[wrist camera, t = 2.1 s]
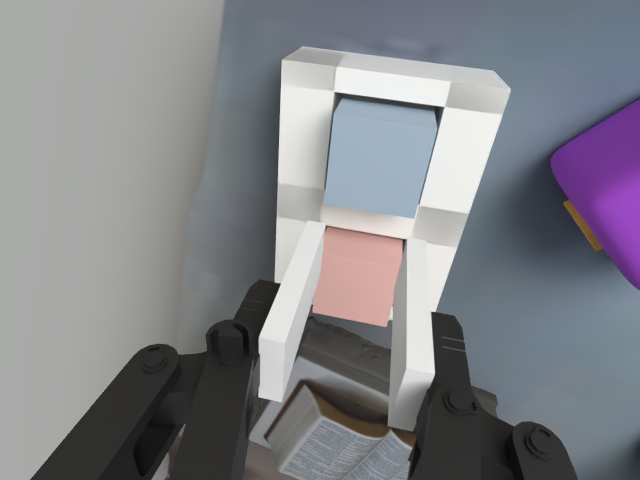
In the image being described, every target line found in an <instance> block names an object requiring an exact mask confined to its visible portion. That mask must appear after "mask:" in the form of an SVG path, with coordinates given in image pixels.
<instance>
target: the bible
mask: <svg viewBox="0 0 640 480" xmlns="http://www.w3.org/2000/svg"><path fill="white" fill-rule="evenodd" d="M390 368H391V350H390V349H386V348H383V347H380V346H378V345H374V344H373V343H371V342H370V341H367V340H364V339H363V338H362V337H360V336H358V335H356V334H354V333H351V332H349V331H347V330H345V329H343V328H341V327H336V326H334V325H332V324H328V323H327V324H325V323H321V322H318V321H317V320H316V319H315V318H314V317H312V318H309V319H308V320H307V321H306V323H305V327H304V330H303V333H302V337H301V340H300V343H299V347H298V350H297V353H296V357H295V360H294V363H293V367H292V370H291V373H290V377H289V380H288V383H287V387H286V390H285V393H284V397H283V400H282V402H278V401H273V400H269V399H264V398H262V400H261V403H260V409H259V412H258V414H257V416H256V419H255V421H254V423H253V426H252V428H251V430H250V436H249V440H250V441H252V442H254V443H257V444H260V445H262V446H264V447H267V448H269V449H271V450H272V451H273V455H274V458H275V463H276V467H277V469H278V471H279V472H281V473H283V474H286V475H289V476H292V477H295V478H297V479H299V480H407V477H408V472H409V466H410V461H407V460H408V458H409V455H410V453H411V450H412V448H413V445H414V443H415V440H416V438H417V434H416V424H415V427H414V430H413V432H412V431H408V430H403V429H399V428H394V427H390V426H388V410H389V389H390ZM471 389H472V392H473V395H475V396H476V398H477V399H478V401H479V403H480V404H481V407H482V408H483V409H485V410H486V411H487V412H488V413H490V414H491V415H493V416H494V417H496V418H498V417H497V414H496V410H495V409H496V406H497V404H498V402H497V398H496V395H494V394H492V393H489V392H487V391H485V390H482V389H479V388H476V387H474V386H471Z"/></svg>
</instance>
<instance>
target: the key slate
mask: <svg viewBox="0 0 640 480" xmlns="http://www.w3.org/2000/svg"><path fill="white" fill-rule="evenodd" d="M437 129H438V128H437V123H436V118H435V113H434V111H431V110H424V109H416V108H409V107H402V106H395V105H388V104H381V103H373V102H366V101H359V100H352V99H345V98H342V100H341V101H340V103H339V105H338V107H337V109H336V110H335V112H334V116H333V125H332V134H331V144H330V153H329V162H328V172H327V181H326V190H325V200H324V204H329V205H335V206H341V207H346V208H352V209H358V210H364V211H370V212H376V213H382V214H388V215H394V216H400V217H406V218H412V219H414V218H415V214H416V211H417V207H418V203H419V199H420V195H421V191H422V187H423V183H424V179H425V175H426V172H427V168H428V164H429V160H430V156H431V152H432V148H433V144H434V140H435V136H436V133H437Z"/></svg>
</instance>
